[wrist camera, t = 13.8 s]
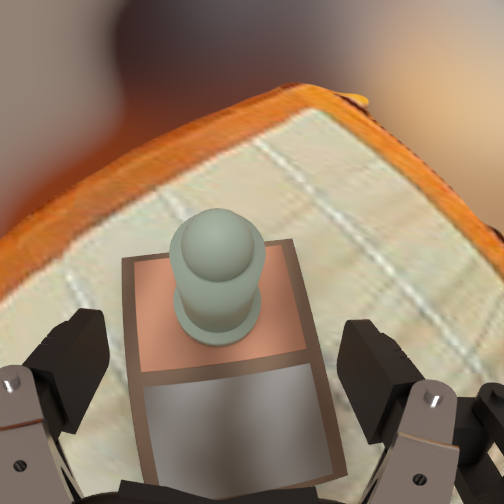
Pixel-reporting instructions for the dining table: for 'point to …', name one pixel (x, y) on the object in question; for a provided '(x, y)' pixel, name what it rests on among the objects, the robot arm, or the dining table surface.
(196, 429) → the brown flat rectangular board
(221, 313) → the pawn
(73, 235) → the dining table surface
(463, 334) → the dining table surface
